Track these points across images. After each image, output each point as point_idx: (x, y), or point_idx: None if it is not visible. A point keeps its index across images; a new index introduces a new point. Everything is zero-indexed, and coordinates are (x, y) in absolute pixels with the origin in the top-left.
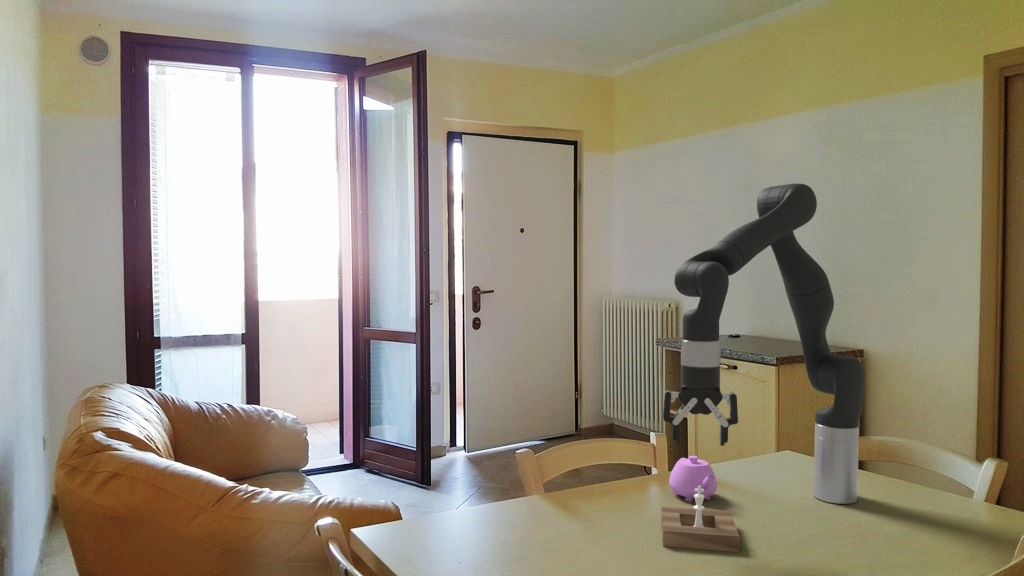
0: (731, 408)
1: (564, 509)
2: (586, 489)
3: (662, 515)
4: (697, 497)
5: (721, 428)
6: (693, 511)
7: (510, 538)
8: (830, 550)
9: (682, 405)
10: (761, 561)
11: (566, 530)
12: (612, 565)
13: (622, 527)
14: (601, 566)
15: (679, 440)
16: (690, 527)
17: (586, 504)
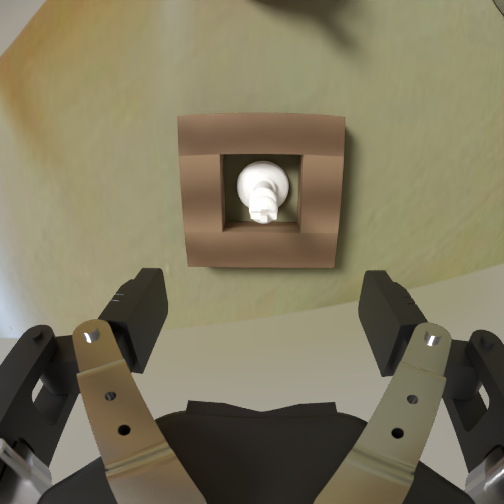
0: (467, 459)
1: (23, 123)
2: (50, 4)
3: (181, 178)
4: (257, 221)
5: (382, 372)
6: (254, 134)
7: (9, 263)
8: (465, 220)
9: (89, 415)
10: (354, 282)
11: (45, 218)
12: None
13: (115, 178)
14: None
15: (162, 322)
16: (241, 239)
17: (48, 79)
